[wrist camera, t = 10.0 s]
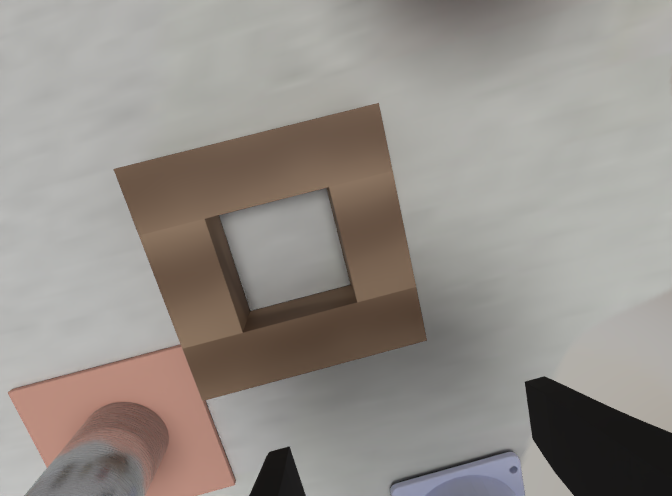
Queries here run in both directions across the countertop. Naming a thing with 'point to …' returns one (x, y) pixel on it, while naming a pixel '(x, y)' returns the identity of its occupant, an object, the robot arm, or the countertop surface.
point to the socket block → (218, 265)
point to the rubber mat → (141, 388)
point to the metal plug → (108, 455)
